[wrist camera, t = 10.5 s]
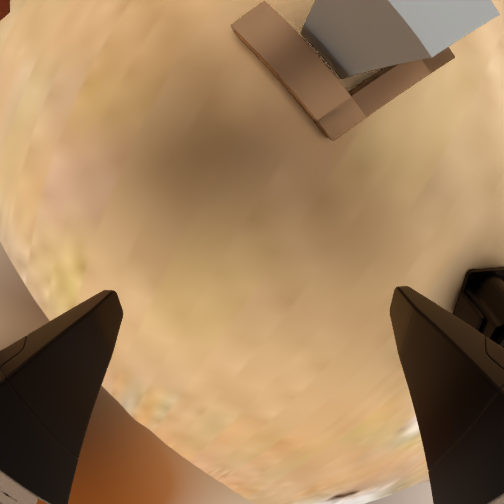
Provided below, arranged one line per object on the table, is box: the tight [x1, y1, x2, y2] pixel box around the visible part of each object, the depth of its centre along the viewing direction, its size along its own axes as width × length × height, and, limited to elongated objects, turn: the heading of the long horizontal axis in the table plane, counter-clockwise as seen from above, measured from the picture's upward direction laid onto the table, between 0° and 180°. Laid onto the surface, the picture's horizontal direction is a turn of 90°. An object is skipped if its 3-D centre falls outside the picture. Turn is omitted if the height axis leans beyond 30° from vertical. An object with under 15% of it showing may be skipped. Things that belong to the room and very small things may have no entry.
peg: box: [301, 0, 500, 79], centre depth 10 cm, size 4×4×12 cm
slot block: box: [230, 1, 455, 141], centre depth 14 cm, size 9×10×2 cm
